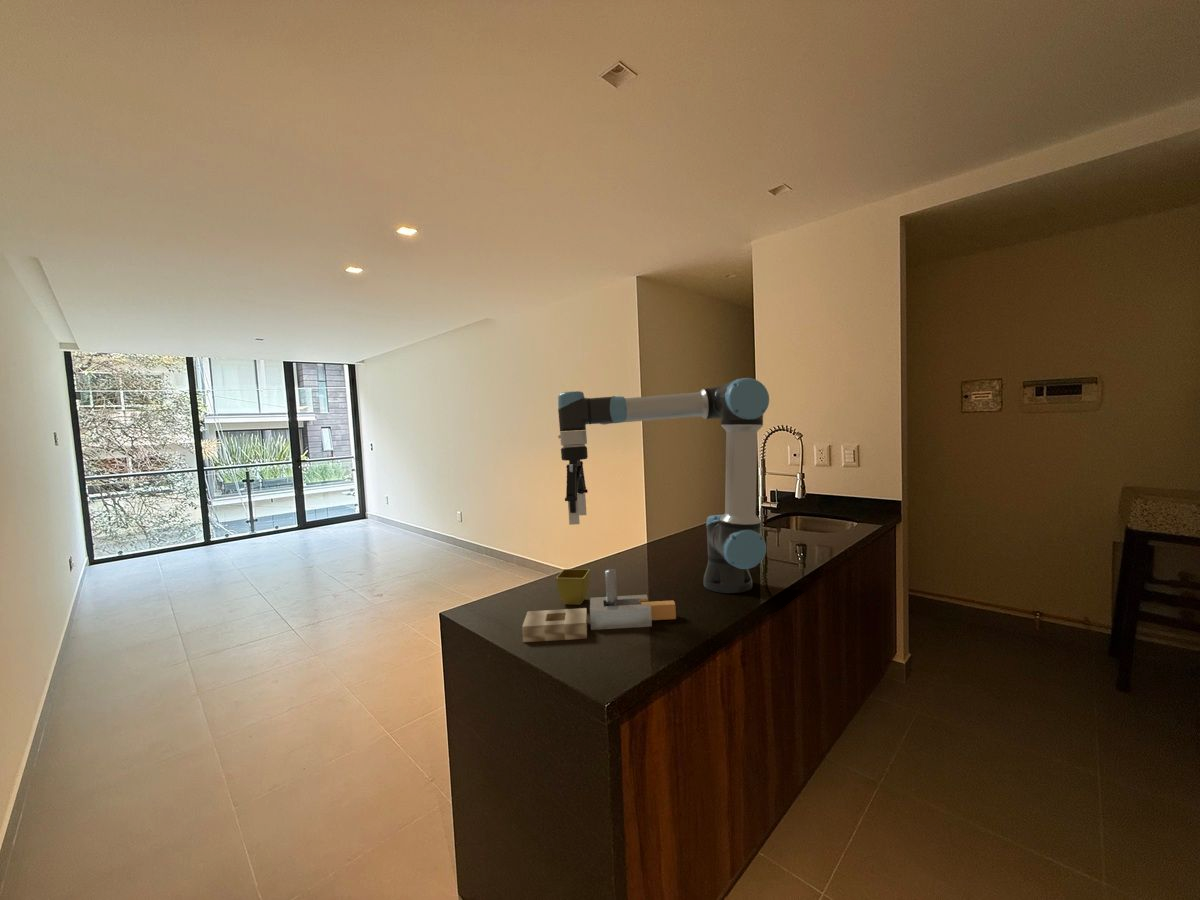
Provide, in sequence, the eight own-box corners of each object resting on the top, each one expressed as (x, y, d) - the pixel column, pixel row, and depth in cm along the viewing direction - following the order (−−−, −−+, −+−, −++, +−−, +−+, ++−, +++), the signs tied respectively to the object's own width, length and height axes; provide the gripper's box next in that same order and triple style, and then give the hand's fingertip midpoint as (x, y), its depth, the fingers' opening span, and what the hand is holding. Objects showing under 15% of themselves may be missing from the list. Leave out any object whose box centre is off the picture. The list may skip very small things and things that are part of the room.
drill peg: (618, 618, 131) (615, 568, 130) (618, 622, 128) (616, 571, 127) (607, 619, 131) (604, 569, 130) (607, 623, 128) (604, 572, 127)
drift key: (674, 614, 131) (673, 600, 131) (676, 618, 128) (675, 604, 128) (641, 616, 131) (640, 602, 131) (642, 620, 128) (642, 606, 128)
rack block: (587, 622, 129) (586, 608, 129) (586, 638, 119) (586, 622, 119) (528, 625, 129) (527, 611, 129) (523, 642, 119) (522, 626, 119)
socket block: (647, 611, 135) (646, 594, 134) (651, 626, 125) (650, 607, 124) (591, 615, 134) (590, 597, 134) (590, 629, 124) (589, 611, 124)
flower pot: (585, 608, 140) (583, 577, 140) (556, 607, 142) (555, 577, 142) (591, 597, 149) (590, 569, 148) (564, 596, 150) (563, 568, 150)
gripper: (568, 445, 149) (572, 512, 150) (551, 448, 124) (556, 529, 125) (592, 443, 148) (596, 511, 149) (580, 447, 123) (585, 528, 124)
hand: (578, 519), depth 137 cm, fingers open, 13 cm apart
